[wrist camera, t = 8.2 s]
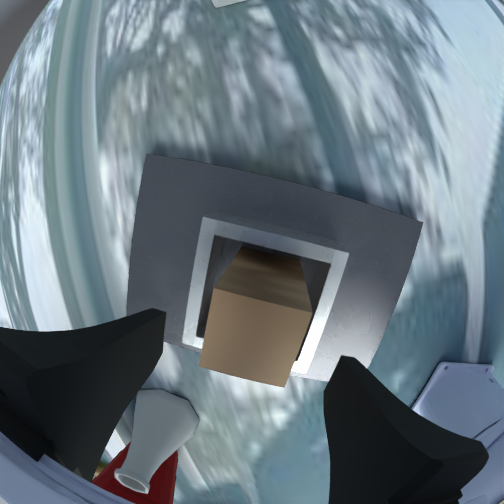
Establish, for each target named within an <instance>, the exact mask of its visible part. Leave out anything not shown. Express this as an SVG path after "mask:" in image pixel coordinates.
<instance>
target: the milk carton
mask: <svg viewBox="0 0 504 504" xmlns="http://www.w3.org/2000/svg"><path fill="white" fill-rule="evenodd" d="M242 1H247V0H212V3H213V5H214V7H215V8H218V7H222V6H226V5H230V4H234V3H238V2H242Z"/></svg>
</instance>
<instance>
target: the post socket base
mask: <svg viewBox="0 0 504 504" xmlns="http://www.w3.org/2000/svg"><path fill="white" fill-rule="evenodd" d="M422 225H423V222H420V221H418V220H415V219H412V218H409V217H406V216H403V215H401V214H398V213H395V212H392V211H389V210H386V209H383V208H380V207H377V206H374V205H370V204H367V203H364V202H361V201H358V200H354V199H351V198H348V197H344V196H341V195H337V194H334V193H330V192H327V191H323V190H320V189H316V188H312V187H309V186H305V185H301V184H297V183H293V182H289V181H285V180H281V179H277V178H273V177H268V176H264V175H260V174H255V173H251V172H246V171H242V170H237V169H232V168H227V167H222V166H217V165H212V164H207V163H201V162H196V161H190V160H184V159H178V158H172V157H166V156H159V155H152V154H146V159H145V164H144V169H143V174H142V179H141V185H140V190H139V196H138V202H137V209H136V215H135V223H134V230H133V238H132V247H131V256H130V267H129V280H128V295H127V316H129V315H132V314H135V313H138V312H141V311H144V310H147V309H150V308H155V309H158V310H161V311H164V312H166V321H165V331H164V342H167V343H170V344H173V345H176V346H179V347H182V348H186V349H189V350H192V351H195V352H199V353H201V352H202V346H203V341H204V335H205V330H206V325H207V319H208V314H209V309H210V304H211V299H212V294H213V289H214V287H215V285H216V284H217V282H218V281H219V279H220V278H221V276H222V275H223V273H224V272H225V270H226V269H227V267H228V266H229V264H230V263H231V261H232V260H233V258H234V257H235V255H236V254H237V252H238V251H239V249H240V248H241V246H242V247H246V248H250V249H254V250H258V251H262V252H266V253H270V254H274V255H278V256H282V257H286V258H290V259H294V260H298V261H300V262H301V266H302V270H303V274H304V278H305V282H306V286H307V291H308V295H309V299H310V303H311V308H312V312H313V313H312V316H311V319H310V322H309V325H308V328H307V330H306V333H305V336H304V338H303V341H302V344H301V346H300V349H299V352H298V354H297V357H296V359H295V362H294V365H293V367H292V370H291V372H290V375H293V376H299V377H304V378H310V379H316V380H322V381H328V382H329V380H330V378H331V376H332V374H333V372H334V369H335V367H336V365H337V363H338V361H339V359H340V356H341V355H344V356H350V357H355V358H356V359H357V360H358V361H360V362H361V363H362V364H363V365H364V366H365V367H366V368H368V366H369V364H370V362H371V360H372V358H373V356H374V354H375V352H376V350H377V348H378V346H379V343H380V341H381V339H382V337H383V335H384V332H385V330H386V328H387V326H388V323H389V321H390V319H391V316H392V314H393V311H394V309H395V306H396V304H397V301H398V299H399V296H400V293H401V291H402V288H403V285H404V283H405V280H406V277H407V274H408V271H409V268H410V265H411V262H412V259H413V256H414V253H415V249H416V246H417V243H418V239H419V236H420V232H421V229H422Z"/></svg>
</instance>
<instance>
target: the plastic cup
mask: <svg viewBox="0 0 504 504" xmlns="http://www.w3.org/2000/svg"><path fill="white" fill-rule="evenodd" d="M130 444H131V441H130V443H129V444H128V445H127V446H126V447H125V448H124V449H123V450H122V451H120V452H119V453H118V455H117V456H116V457H115V458H114V459H113V460H112V461H111V462H110V463H109V464H108V465H107V467H106V468H105V469H104V470H103V471H102V472H101V473H100V474H99V475H98V476H97V477H95V478H94V479H93V480H92V482H91V483H92V484H94V485H96V486H98V487H100V488H102V489H104V490H106V491H108V492H110V493H112V494H114V495H116V496H118V497H121V498H123V499H125V500H127V501H130V502H132V503H135V504H173V498H174V490H175V482H176V469H177V463H178V454H177V451H175V452H174V453H173V454H172V455H170V456H169V457H168V458H167V459H166V460H165V461H164V462H163V463H162V464H161V465H160V466H159V467H158V469H157V470H156V471H155V473H154V474H153V475H152V477H151V479H150V481H149V484H150V488H149V492H148V494H146V493H141V492H137V491H134V490H132V489H130V488H128V487H126V486H124V485H122V484H121V483H120V482H119V481H118V480H117V479H116V478H115V474H114V472H115V470H116V469H120V468H121V467H122V465H123V463H124V461H125V460H126V457H127V454H128V450H129V447H130Z"/></svg>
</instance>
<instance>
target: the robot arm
mask: <svg viewBox="0 0 504 504" xmlns="http://www.w3.org/2000/svg"><path fill="white" fill-rule="evenodd" d="M165 321H166V312H164V311H161V310H158V309H155V308H150V309H147V310H144V311H141V312H138V313H135V314H132V315H129V316H126V317H123V318H120V319H117V320H114V321H111V322H107V323H103V324H100V325H96V326H92V327H87V328H81V329H75V330H66V331H51V332H39V331H23V330H16V329H9V328H4V327H0V496H1V497H2V498H3V499H4V500H5V501H6V502H7V503H8V504H135V503H132V502H130V501H127V500H125V499H123V498H121V497H118V496H116V495H114V494H112V493H110V492H108V491H106V490H104V489H102V488H100V487H98V486H96V485H94V484H92V483H91V482H92V479H93V476H94V474H95V471H96V468H97V466H98V463H99V461H100V459H101V456H102V454H103V452H104V450H105V447H106V445H107V443H108V441H109V439H110V437H111V435H112V433H113V431H114V429H115V427H116V425H117V423H118V421H119V419H120V418H121V416H122V414H123V412H124V411H125V409H126V408H127V406H128V405H129V403H130V402H131V400H132V399H133V398H134V396H135V395H136V394H137V392H138V391H139V389H140V388H141V387H142V385H143V384H144V383H145V381H146V380H147V378H148V377H149V376H150V374H151V373H152V371H153V370H154V368H155V366H156V364H157V363H158V361H159V359H160V357H161V355H162V353H163V342H164V331H165ZM493 370H494V366H493V365H486V364H468V363H455V362H441V363H440V364H439V365H438V366H437V368H436V370H435V372H434V373H433V375H432V377H431V378H430V380H429V382H428V383H427V385H426V387H425V388H424V390H423V391H422V393H421V395H420V396H419V398H418V399H417V401H416V402H415V404H414V405H413V407H412V408H410V407H408V406H407V405H405V404H404V403H403V402H402V401H400V400H399V399H398V398H397V397H396V396H395V395H394V394H392V393H391V392H390V391H389V390H388V389H387V388H386V387H385V386H384V385H383V384H382V383H381V382H380V381H379V380H378V379H377V378H376V377H375V376H374V375H373V374H372V373H371V372H370V371H369V370H368V369H367V368H366V367H365V366H364V365H363V364H362V363H361V362H360V361H358V360H357V359H356V358H355V357H350V356H344V355H341V356H340V359H339V361H338V363H337V365H336V367H335V369H334V372H333V374H332V376H331V378H330V380H329V382H328V384H327V386H326V388H325V390H324V418H325V425H326V432H327V438H328V445H329V452H330V492H329V504H499V503H500V502H502V501H503V500H504V389H503V388H502V386H501V385H500V384H499V383H498V382H497V381H496V380H495V378H494V377H493V376H492V375H491V374H492V372H493Z"/></svg>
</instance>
